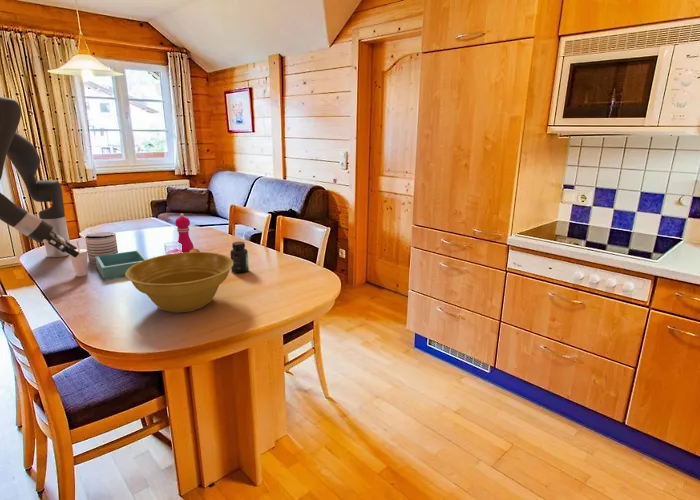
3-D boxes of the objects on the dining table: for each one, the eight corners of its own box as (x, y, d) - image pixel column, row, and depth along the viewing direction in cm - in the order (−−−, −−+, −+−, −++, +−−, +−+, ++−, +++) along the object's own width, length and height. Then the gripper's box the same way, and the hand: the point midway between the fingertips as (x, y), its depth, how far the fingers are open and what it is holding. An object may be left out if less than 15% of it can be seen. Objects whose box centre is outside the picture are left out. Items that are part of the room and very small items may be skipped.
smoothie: (82, 278, 158) (76, 242, 154) (67, 276, 159) (61, 241, 156) (95, 272, 164) (89, 238, 160) (81, 271, 165) (75, 237, 162)
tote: (97, 267, 170) (95, 256, 169) (139, 261, 179) (138, 250, 178) (104, 280, 156) (102, 267, 155) (149, 272, 166) (148, 260, 164)
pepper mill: (197, 255, 188) (194, 212, 183) (187, 260, 182) (182, 215, 176) (184, 254, 191) (180, 211, 185) (173, 258, 184) (169, 214, 178)
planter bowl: (126, 334, 116) (120, 289, 112) (133, 293, 144) (128, 257, 141) (243, 316, 129) (241, 275, 125) (228, 282, 157) (226, 248, 153)
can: (82, 261, 178) (78, 234, 174) (106, 254, 188) (102, 229, 184) (101, 265, 174) (97, 237, 170) (125, 257, 184) (121, 231, 180)
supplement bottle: (252, 271, 169) (250, 243, 166) (237, 275, 164) (235, 246, 161) (242, 267, 174) (241, 239, 170) (228, 271, 169) (226, 242, 165)
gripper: (41, 222, 145) (85, 249, 154) (40, 215, 155) (81, 241, 165) (25, 239, 143) (71, 265, 153) (25, 231, 154) (67, 255, 164)
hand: (76, 252), depth 159 cm, fingers open, 8 cm apart
